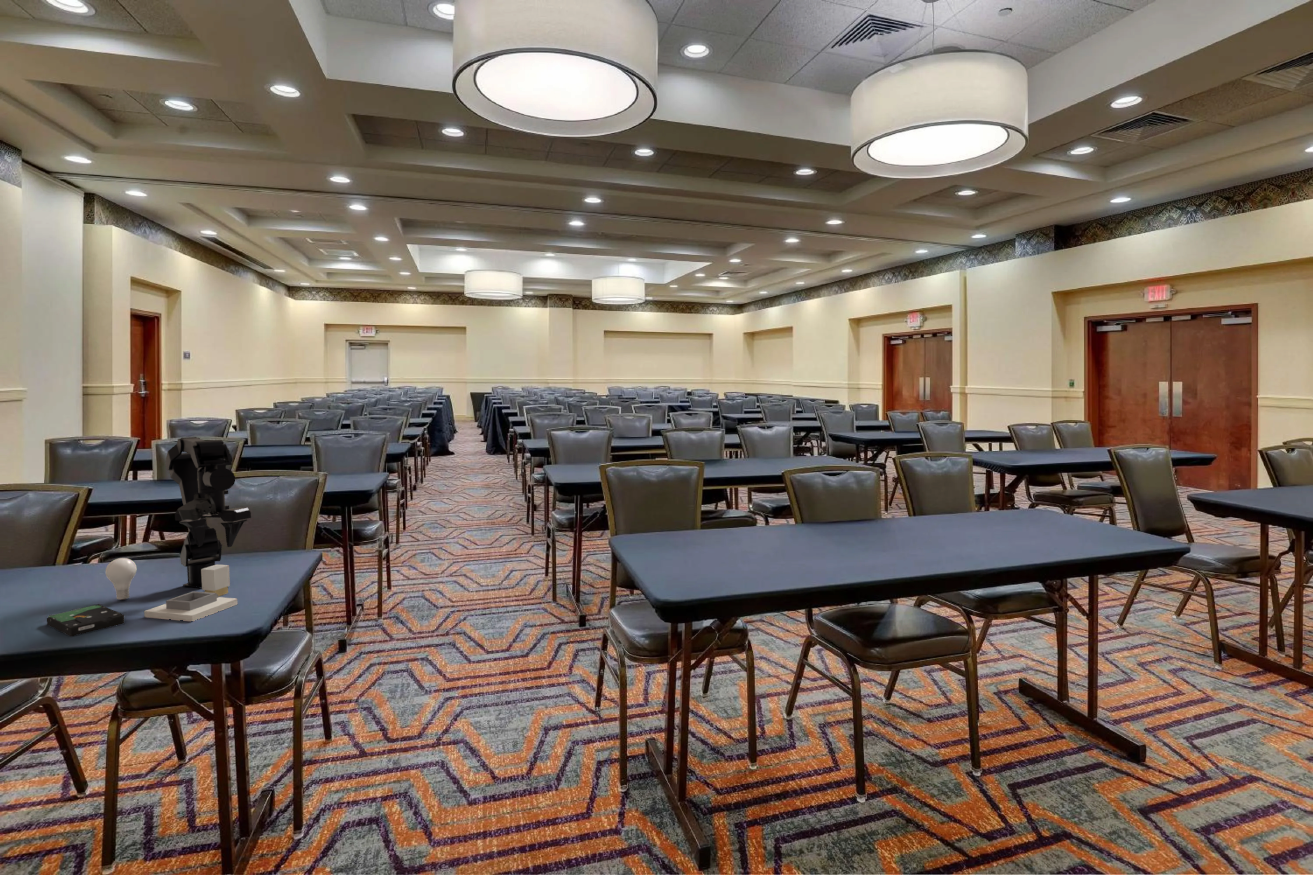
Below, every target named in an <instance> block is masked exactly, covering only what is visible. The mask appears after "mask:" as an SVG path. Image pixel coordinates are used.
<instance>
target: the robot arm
mask: <svg viewBox="0 0 1313 875" xmlns="http://www.w3.org/2000/svg"><path fill="white" fill-rule="evenodd" d="M232 462H233V457H232V454H231V451H230V450H229V447H228V446H227V444H226V443H224V441H223V440H222V439H215V440H214V439H211V440H208V439H207V440H204V439H201V437H197V436H192V437H191V436H190V437H189V436H188V437H187V436H186V437H181V438H177V442H176V444H175V445H174V446H172V447H170V448H169V449H168V451H167V452H166V457H165V468H166V470H167V471H168V472H169V476H170V478H171V480H173V481H174V482H175V483H176V484H177V485H178V486H179V487H178V488H179V490H180V491H179V492H180V496H181V501H182V504H183V505H182V506H179V507H178V508H177V510H176V511H175V512H174V520H175V521H178V522H179V524H181V525H183V526H185V527H187V529H188V530H187V531H188V533H187V534H186V537H185V539H184V540H183V545H182V548H181V552H180V556H179V559H180V564H181V565H182V566H184V567H186V572H187V583H184V584H182V587H187V588H189V587H190V588H199V589H200V588H201V589H202V576H201V569H203V568H207V567H210V566H213V565H216V562H221V560H222V551H223V550H222V549H223V544H222V543H221V540H220V539H219V538H218V535H217V530H216V529H215V527H210V526H209V525H208V522H207V519H208V518H209V519H211V518H212V519H213V518H214V519H215V518H216V519H219V518H220V519H221V520H222V521H223V522H220V524H221V526H223V527H224V531H225V539H226V540H225V542H226V547H227V548H231V547H233V545H234V543H235V540H236V538H237V536H238V533H239V532H240V530H241V528H242V527H243V525H244V524H245V522H248V519H251V518H252V512H251V509H250V508H249V507H233V508H230V505H226V495H229V489H230V488H232V487H233V486H234V485H235V482H236V476H235V474H234V472H233V471H232V470H230V469H229V468H227V467H226V466H232Z"/></svg>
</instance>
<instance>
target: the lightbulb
mask: <svg viewBox="0 0 1313 875" xmlns="http://www.w3.org/2000/svg"><path fill="white" fill-rule="evenodd" d="M137 567H138V566H137V565H136V563H135V562H134V560H132V559H130V558H127V557H119V558H116V559H114V560H112V561H111V562H109V563H108V564H107V565H106V567H105V576H106V579H108V580H109V581H110V582H111V583H112V585H113V587H114V590H115V593H116V598H115V599H116V600H119V601H125V600H127V599H129V598H130V586H131V585H132V584H131V583H132V580H133V579H134V577H136V574H137Z"/></svg>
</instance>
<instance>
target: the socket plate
mask: <svg viewBox="0 0 1313 875" xmlns="http://www.w3.org/2000/svg"><path fill="white" fill-rule="evenodd" d="M237 605H238V598H234V597H223V596H219V597H218V594H216V593H208V592H205V591H196V590H195V591H193V590H192V591H191V592H188V593H184V594H181V595H179V596H176V597H172V598H170V599H166V600H165V603H164V604H162V605H158V606H155V607H152V608H149V609H145V610H144V612H143V613H144V618H148V619H149V618H150V619H160V620H161V619H162V620H169V619H171V621H180V620H183V622H191V621H193V622H196V621H198V620H200V618H201V619H203V618H206V617H208V615H209V616H211V615H213V614H216V613H219V612H221V611H223V610H227V609H229V608H231V607H235V606H237ZM218 611H219V612H218ZM205 616H206V617H205ZM197 619H198V620H197ZM195 620H196V621H195Z"/></svg>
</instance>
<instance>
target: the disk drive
mask: <svg viewBox="0 0 1313 875" xmlns="http://www.w3.org/2000/svg"><path fill="white" fill-rule="evenodd" d="M46 625H47V626H49V627H50V628H53V629H54V630H56V631H59V632H60V633H63V634H65V635H66V636H67V637H71V638H72V637H75V636H80V635H84V634H88V633H92V632H97V631H100V630H104V629H109V628H112V627H116V625H117V626H120V625H125V614H123V613H121V612H119V611H116V610H114V609H111V608H109V607H106V606H104V605H102V604H100V603H98V604H93V605H87V606H84V607H79V608H74V609H72V610H66V611H63V612H59V613H54V614H49V615H48V616H47V617H46Z"/></svg>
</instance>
